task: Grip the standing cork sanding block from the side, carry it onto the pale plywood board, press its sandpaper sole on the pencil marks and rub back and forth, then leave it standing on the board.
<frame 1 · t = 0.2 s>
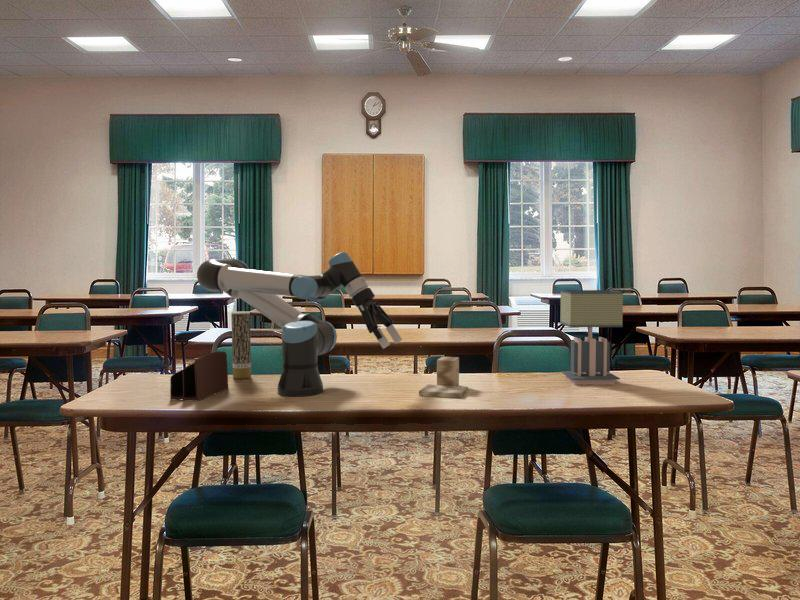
hand: (393, 344, 213), 15 cm above the table, tool tilted 35°, fingers open, 13 cm apart
letter holder: (200, 395, 208), on the table
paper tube: (242, 378, 236), on the table
sanding block: (448, 387, 217), on the table
desk lamp: (589, 381, 225), on the table
board: (443, 393, 206), on the table
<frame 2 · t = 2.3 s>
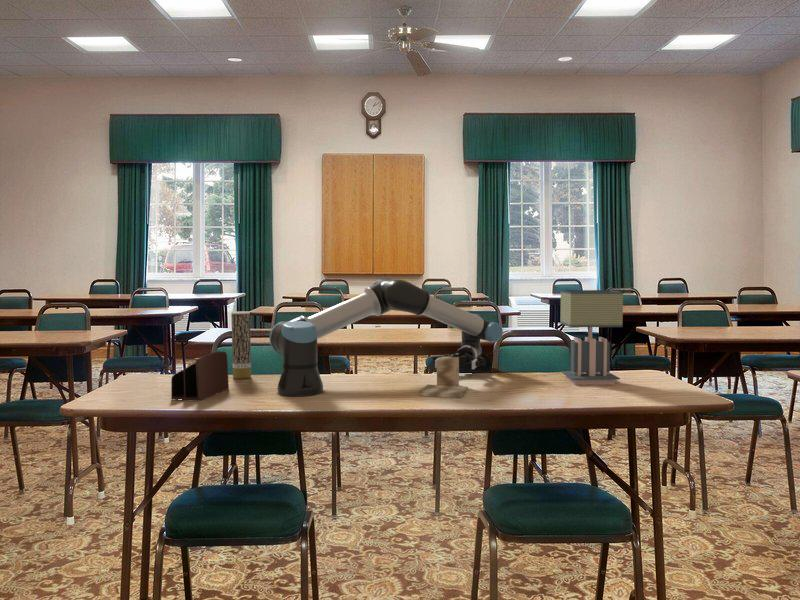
hand: (454, 364, 225), 6 cm above the table, tool horizontal, fingers open, 13 cm apart
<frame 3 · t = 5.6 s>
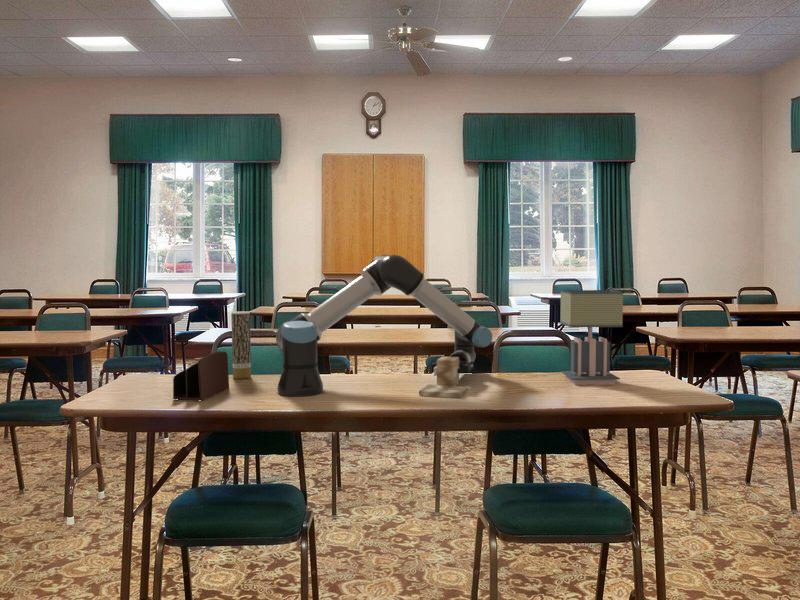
hand: (444, 372, 211), 6 cm above the table, tool horizontal, fingers closed on sanding block, 6 cm apart
sanding block: (448, 386, 217), on the table, touching gripper
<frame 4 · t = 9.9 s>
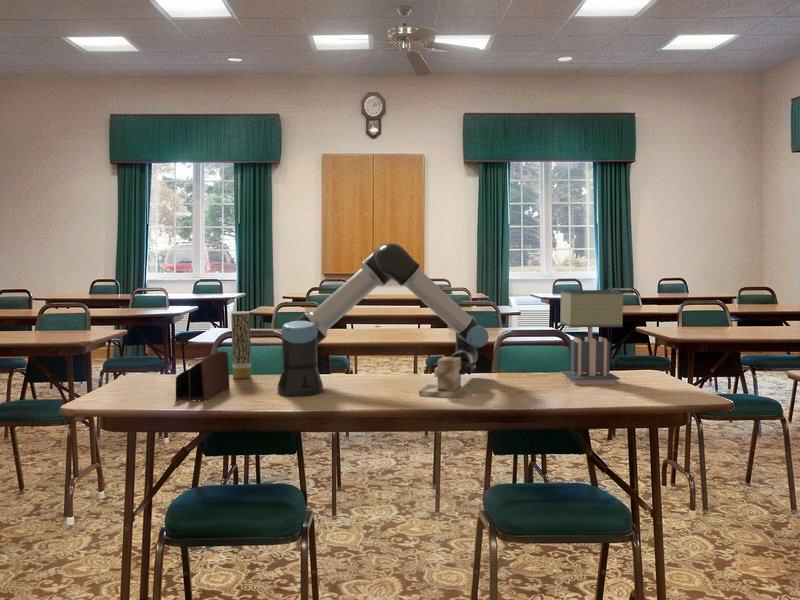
hand: (445, 373, 201), 8 cm above the table, tool horizontal, fingers closed on sanding block, 6 cm apart
sanding block: (449, 388, 206), point 2 cm above the table, touching gripper
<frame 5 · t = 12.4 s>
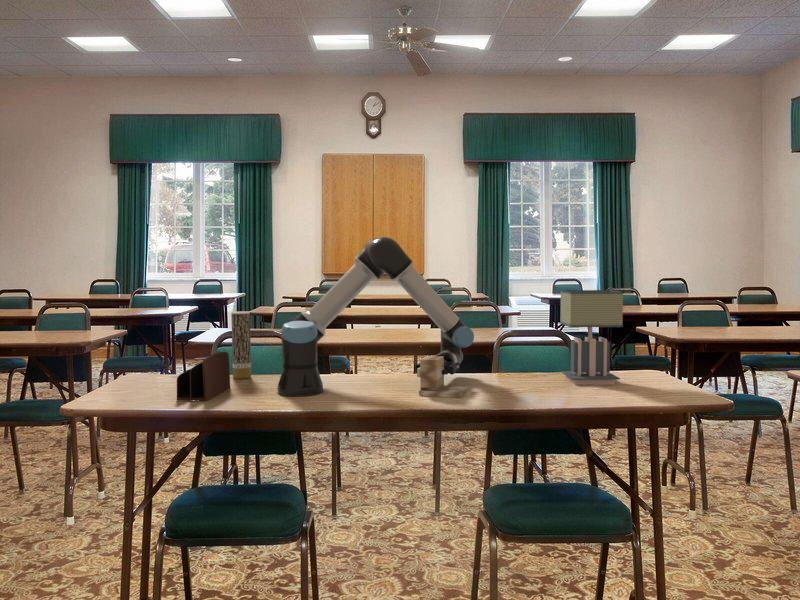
hand: (428, 373, 202), 7 cm above the table, tool horizontal, fingers closed on sanding block, 6 cm apart
sanding block: (432, 387, 207), point 2 cm above the table, touching gripper
when the fingers open (8 cm above the table, at t = 14.8 s): sanding block drops 1 cm, resting on board.
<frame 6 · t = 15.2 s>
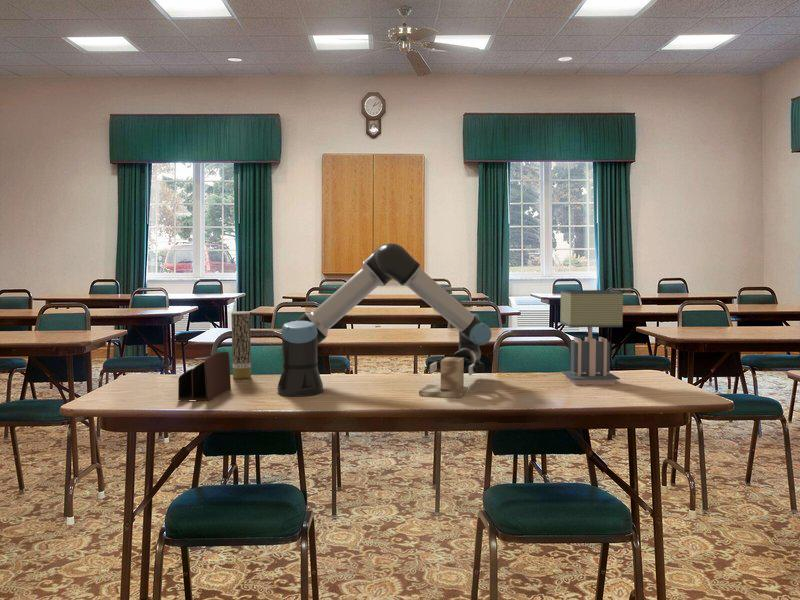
hand: (450, 370, 201), 8 cm above the table, tool horizontal, fingers open, 12 cm apart
sanding block: (452, 389, 205), point 2 cm above the table, touching board
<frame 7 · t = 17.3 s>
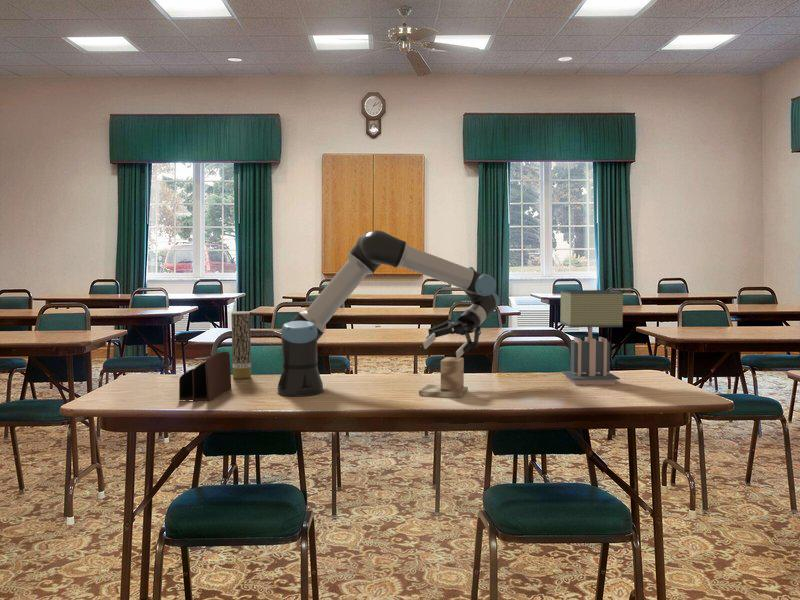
hand: (440, 350, 215), 13 cm above the table, tool tilted 65°, fingers open, 13 cm apart
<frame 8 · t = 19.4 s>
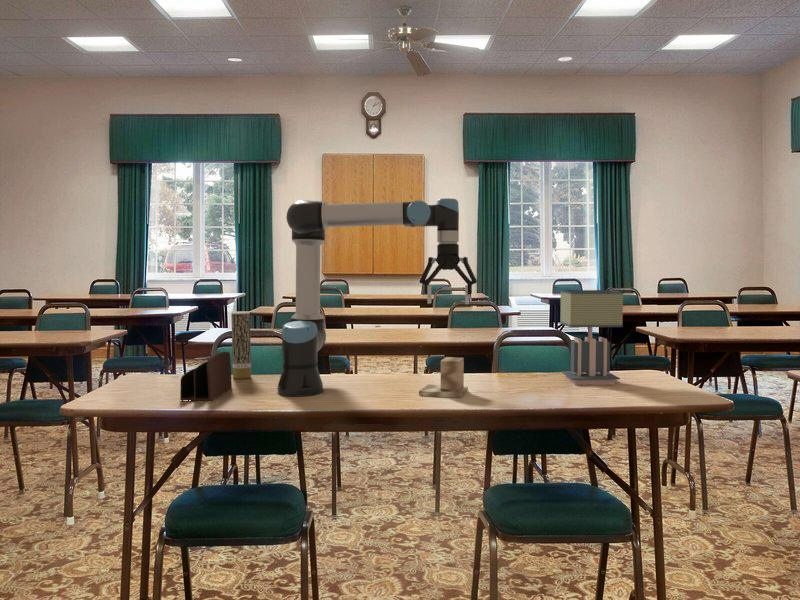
hand: (448, 303, 219), 29 cm above the table, tool pointing down, fingers open, 13 cm apart
at the end: sanding block inside the target area on the board (2.9 cm from its centre), point 1.5 cm above the board's base; sanding block tilted 0°; the gripper is holding nothing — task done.
